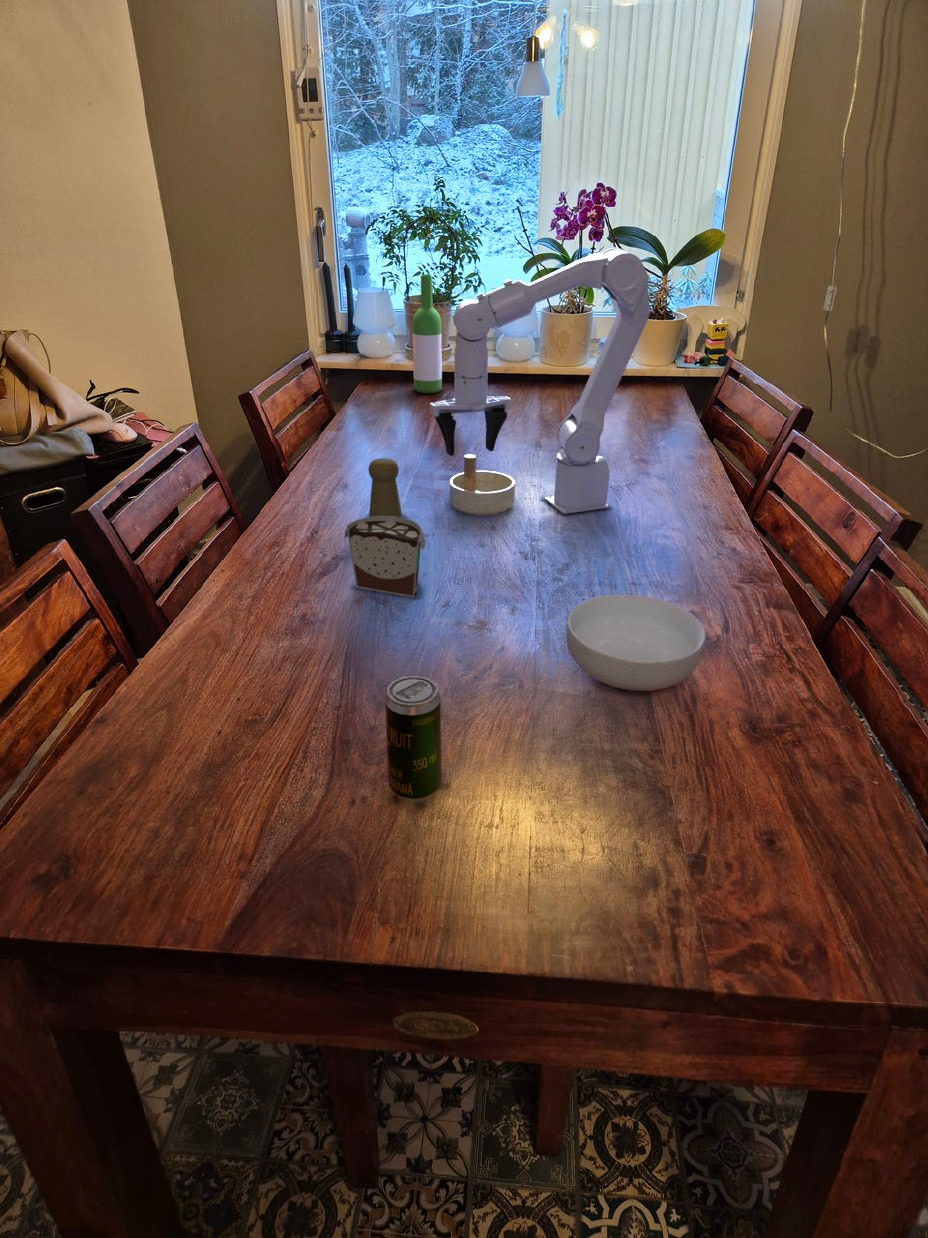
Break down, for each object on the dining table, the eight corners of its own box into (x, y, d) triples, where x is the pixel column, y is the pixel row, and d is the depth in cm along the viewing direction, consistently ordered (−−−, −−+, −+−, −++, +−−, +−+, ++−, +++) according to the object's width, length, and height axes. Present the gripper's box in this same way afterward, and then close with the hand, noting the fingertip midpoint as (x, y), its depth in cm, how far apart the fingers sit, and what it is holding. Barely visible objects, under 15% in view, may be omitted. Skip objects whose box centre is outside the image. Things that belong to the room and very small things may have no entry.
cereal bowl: (670, 729, 93) (678, 677, 89) (540, 684, 100) (543, 635, 97) (715, 661, 105) (724, 614, 102) (596, 627, 113) (601, 581, 110)
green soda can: (414, 762, 87) (411, 668, 81) (452, 784, 84) (452, 688, 78) (378, 788, 84) (372, 691, 78) (416, 812, 81) (413, 713, 75)
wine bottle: (411, 393, 225) (408, 276, 210) (417, 386, 232) (415, 272, 217) (438, 394, 224) (438, 277, 209) (444, 388, 231) (443, 273, 216)
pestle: (475, 497, 154) (476, 451, 150) (483, 505, 151) (484, 458, 147) (455, 500, 153) (455, 453, 149) (463, 507, 150) (463, 460, 145)
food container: (438, 581, 125) (437, 520, 120) (423, 599, 120) (422, 536, 115) (365, 569, 128) (361, 509, 123) (347, 586, 123) (343, 524, 118)
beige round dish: (498, 489, 160) (499, 467, 158) (524, 511, 150) (525, 488, 148) (441, 497, 156) (440, 474, 154) (463, 520, 146) (463, 496, 144)
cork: (397, 527, 143) (395, 466, 138) (364, 524, 144) (361, 464, 139) (406, 514, 148) (404, 455, 143) (374, 511, 149) (371, 453, 144)
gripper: (439, 383, 135) (439, 462, 142) (519, 377, 139) (515, 454, 146) (425, 374, 141) (426, 450, 147) (502, 368, 145) (500, 442, 152)
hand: (470, 451), depth 147 cm, fingers open, 7 cm apart
